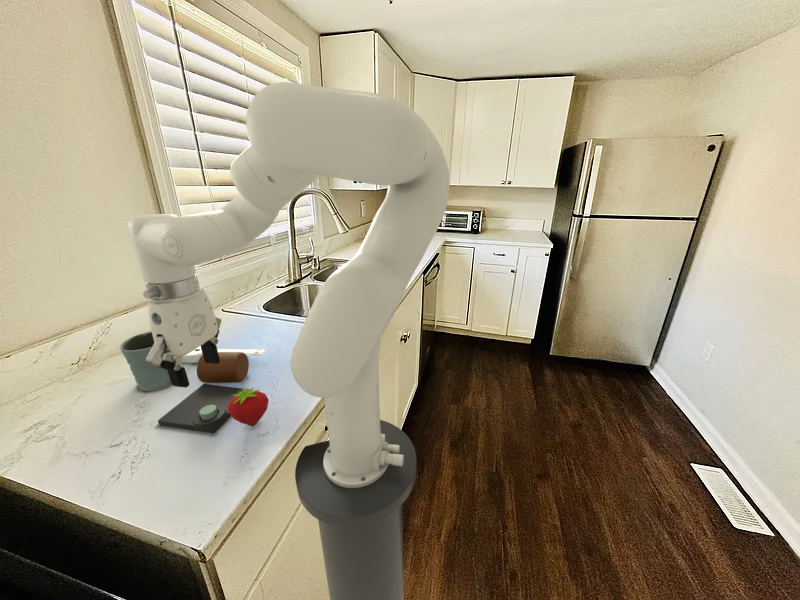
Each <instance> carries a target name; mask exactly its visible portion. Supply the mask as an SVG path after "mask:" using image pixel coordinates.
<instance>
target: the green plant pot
mask: <svg viewBox="0 0 800 600" xmlns="http://www.w3.org/2000/svg"><path fill="white" fill-rule="evenodd" d="M154 343H155V342H154V339H153V335H152V331H146V332H142V333H139V334H135V335H132V336H130V337H129V338H127V339H125V340H124V341H123V342H122V343H121V344H120V345H119V350H120V351H121V353H122V355H123V357H124V358H125V361H126V363H127V364H128V365H129V369H130V371H131V373H132V376H133V377H134V380H135V382H136V384H137V387H138V389H140V390H141V391H142V392H154V391H159V390H162V389H164V388H168V387H170V386H172V383H171V381H170V377H169V374H168V371H167V369H163V368H159V367H156V366H155V365H152V364H150V363H148V362H146V357H147V356H148V354H149V352H150V350H151V349H152V347H153V345H154ZM174 357H175V355H172V359H171V362H173V363H174ZM161 358H162V359H163V358H164V354H162V355H161Z"/></svg>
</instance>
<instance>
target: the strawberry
mask: <svg viewBox="0 0 800 600" xmlns="http://www.w3.org/2000/svg"><path fill="white" fill-rule="evenodd" d="M241 388H242V390H243V387H241ZM247 389H248V388H246V387H244V390H243V391H242V392H239V393H238V394H234V395H231V396H235V397H234V398H233V399H232V400H231V401H230V403H229V404H228V412H229V413H230V415H231V418H232V419H234V420H235V421H237V422H239V423H241V424H243V425H247V426H248V427H254V426H256V425H257V424H258V422H259V421H260V420H261V419H262V418H263V417H264V415H265V413H266V412H267V410H268V406H269V398H268V396H267V394H266V393H265V392H262V391H261V389H256V390H254V387H252V388H249V389H250V390H248V391H247Z"/></svg>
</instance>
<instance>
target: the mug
mask: <svg viewBox="0 0 800 600" xmlns="http://www.w3.org/2000/svg"><path fill="white" fill-rule="evenodd" d="M218 354H219V358H220V362H219V363H218V364H214V363H206V362H205V361H204V358H203V355H202V356H201V357H200V359H199V361H198V362H197V363H196V364H197V365H196V376H197V379H198V380H199V382H201V383H203V384H237V383H242V382H244V380H245V379H246V378H247V377H248V373H249V369H250V361H249V358H248V354H245V353H243V352H218Z"/></svg>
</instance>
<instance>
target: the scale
mask: <svg viewBox="0 0 800 600" xmlns="http://www.w3.org/2000/svg"><path fill="white" fill-rule="evenodd" d="M242 388H243V387H234V386H228V385H227V386H226V385H219V384H211V383H203V384H201V385H200V386H199V387H198V388H196V389H195V390H193V392H192V393H191V394H189V395H188V396H187V397H186V398H184V399H182V401H180V402H179V403H178V404H177V405H175V406H174V407H173V408H171V409H170V410H169V411H167V412H166V413H165V414H164V415H163V416H161V418H159V419H157V423H158V426H159V427H164V428H165V427H166V428H173V429H179V430H186V431H192V432H197V433H207V434H213V435H214V434H215V433H216V432H217V431H218V430H219V429H221V427H223V425H224V424H225V423H226V422H227V421H228V420H229V419H230V418H232V416H231V415H230V413H229V412H228V404H229V403H230V401H231V400H232V399H233V398H234V397H235V396H231V395H234V394H238V393H239V392H242V391H243V390H244V388H245V387H244V388H243V390H242ZM246 389H247V391H248V390H250V389H251V388H246ZM207 405H215V406H216V408H217V412H218V414H217V416H215V417H214V418H212V419H209V420H202V419H201V416H200V413H199V412H200V410H201V409H202V408H203V407H205V406H207Z"/></svg>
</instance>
